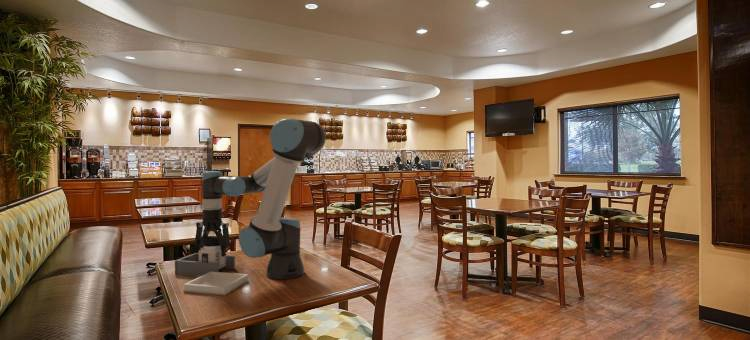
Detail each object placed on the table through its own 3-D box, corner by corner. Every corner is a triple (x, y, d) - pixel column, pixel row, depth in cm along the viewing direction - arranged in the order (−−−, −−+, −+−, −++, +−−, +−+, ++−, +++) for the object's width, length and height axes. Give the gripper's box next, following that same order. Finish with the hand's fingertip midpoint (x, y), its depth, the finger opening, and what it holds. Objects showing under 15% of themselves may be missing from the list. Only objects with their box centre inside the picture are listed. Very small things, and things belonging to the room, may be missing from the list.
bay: (235, 268, 169) (235, 255, 169) (217, 277, 156) (217, 263, 156) (195, 265, 173) (195, 252, 173) (175, 274, 160) (174, 260, 160)
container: (215, 270, 159) (215, 238, 159) (198, 269, 161) (198, 237, 161) (226, 265, 167) (226, 235, 167) (209, 264, 169) (209, 234, 168)
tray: (248, 281, 153) (248, 274, 153) (224, 295, 137) (224, 287, 137) (211, 277, 156) (211, 271, 156) (183, 291, 140) (183, 284, 140)
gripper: (239, 208, 165) (240, 262, 166) (196, 206, 169) (196, 259, 170) (229, 210, 157) (230, 267, 158) (184, 208, 162) (184, 264, 162)
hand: (212, 263), depth 164 cm, fingers closed on container, 8 cm apart
